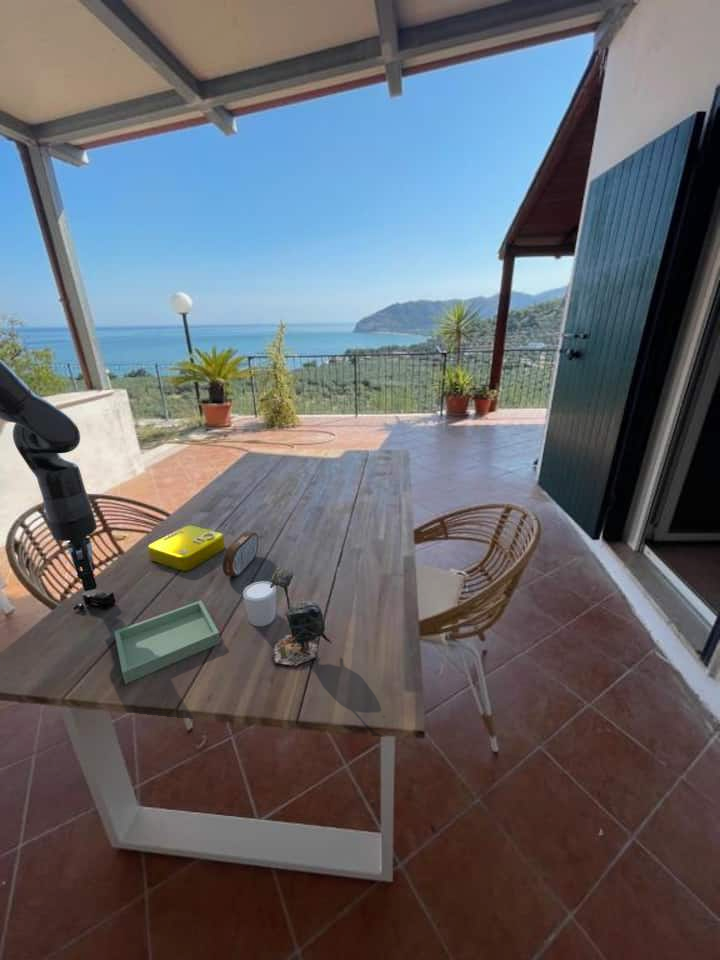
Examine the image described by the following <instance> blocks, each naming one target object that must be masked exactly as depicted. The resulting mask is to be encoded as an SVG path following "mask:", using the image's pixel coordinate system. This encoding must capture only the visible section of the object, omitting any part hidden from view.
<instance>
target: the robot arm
mask: <svg viewBox="0 0 720 960" xmlns="http://www.w3.org/2000/svg"><path fill="white" fill-rule="evenodd" d="M0 420H2V421H4V422H9V423H14V426H13V429H12V438H13V443H14V446H15V448H16V450H17V451H18V453H19V455H20V456H21V458H22V459H23V460H24V463H26V465H27V467H28V468H29V470H30V471H31V472H32V473H33V474H34V476H35V478H36V481H37V485H38V488H39V490H40V494H41V497H42V501H43V509H44V511H45V514H46V518H47V522H48V524H49V528H50V530H51V534H52V537H53V538H54V539H55V540H56V541H59V542H66V543H67V546H66V547H67V551H68V553H69V554H70V557H71V562H72V565H73V566H74V568H75V571H76V577H77V578H78V579H80V581H81V584H82V587H83V591H84V592H85V591H89V590H93V589H95V588H98V587H97V581H96V578H95V575H94V570H95V565H94V558H93V557H94V556H93V553H92V550H93V547H92V541H91V537H90V535H92V534H93V533H94V532H95V531H96V530H97V528H98V526H97V522H96V518H95V514H94V510H93V507H92V504H91V500H90V497H89V495H88V493H87V491H86V488H85V484H84V480H83V477H82V473H81V472H82V471H81V469H80V467H79V466H78V465H77V464H76V463H74V462H72V461H69V460H66V459H64V458H62V456H61V455H60V454H66V453H70V452H73V451H75V449H77V448H78V446H79V445H80V442H81V433H80V430H79V427H78V425H77V424H76V422H75V421H74V420H73V419H72V418H71V417H70V416H68V415H67V414H66V413H65V412H64V411H62V410H61V409H59V408H58V407H57V406H55V405H53V404H52V403H50V402H49V401H47V400H46V399H44V398H43V397H41V396H40V395H38V394H37V393H35V392H34V391H33V390H32V389H31V387H29V385H28V384H27V383H26V382H25V381H24V380H23V379H22V378H21V377H20V376H19V375H18V374H17V373H16V372H15V371H14V370H13V369H12V368H11V367H10V366H9V365H7V363H6V362H4V361H3V360H2V359H1V358H0Z"/></svg>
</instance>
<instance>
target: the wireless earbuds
mask: <svg viewBox="0 0 720 960" xmlns="http://www.w3.org/2000/svg"><path fill="white" fill-rule="evenodd" d="M81 596H82V600H83V603H84V604H82V603H81V602H78V603H76V605H75V606H74V607H73V609H72V610H74V611H77V610H79V611H82V610H84V609H85V606H86V607H90V608H91V607H92V608H96V609H103V610H109V609H110V608H111V607H113V606H114V605H115V604H116V597H115V594H114V591H113V590H110V589H104V588H98V587H96V588H95V589H93V590H89V591H85V590H84V592H82V593H81Z"/></svg>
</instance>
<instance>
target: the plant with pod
mask: <svg viewBox="0 0 720 960" xmlns="http://www.w3.org/2000/svg"><path fill="white" fill-rule="evenodd" d="M293 575H294V572H293V571H291V570H289V569H288V568H285V567H281V566H277V568H276V569H275V572H274V573H273V575H272V577H271V583H272V584H271V586H270V588H272V587H273V586H274V585H275V586H280V587H281V588H283V590H284V594H285V597H286V603H287V611H286V613H285V616H286V619H287V623H288V626H289V629H290V631H291V634H287V635H285V637H284V638H280V639H278V641H276V642H275V643H274V647H273V651H272V655H271V658H270V661H271V662H272V663H274V664H280V665H288V666H289V665H290V666H292V665H293V667H296V666H298V665H300V664H303V663H306V662H309V661H310V660H313V659H316V658H317V657H318V643H319V641H318V640H317V638H319V637H322V638H323V639H324V640H325V641H327V642H328V643H329V644H332V640H331V638H329V637H327V635H326V634H325V630H326V625H325V617H324V614H323V611H322V609H321V607H320V605H319V604H318V603H317V602H315V601H314V600H304V601H300V602H296V603H294V605H291V604H290V603H291V602H290V597H289V595H288V594H289V586H290V585H291V582H292V578H293ZM290 606H291V607H290Z"/></svg>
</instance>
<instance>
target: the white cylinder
mask: <svg viewBox="0 0 720 960" xmlns="http://www.w3.org/2000/svg"><path fill="white" fill-rule="evenodd" d="M272 583H273V582H272V581H266V580H262V581H261V580H260V581H256V582H252V583H250V584H249V585H247V586H245V588H244V590H242V596H243V601H244V605H245V609H246V614H247V618H248V622H249V623H250V625H252V626H255V627H265V626H267V625H270V624H271V623H273V622H274V620H275V619H276V611H277V610H276V609H277V608H276V607H277V585H274V586H273V587H272V588H270V586H271V584H272Z"/></svg>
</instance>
